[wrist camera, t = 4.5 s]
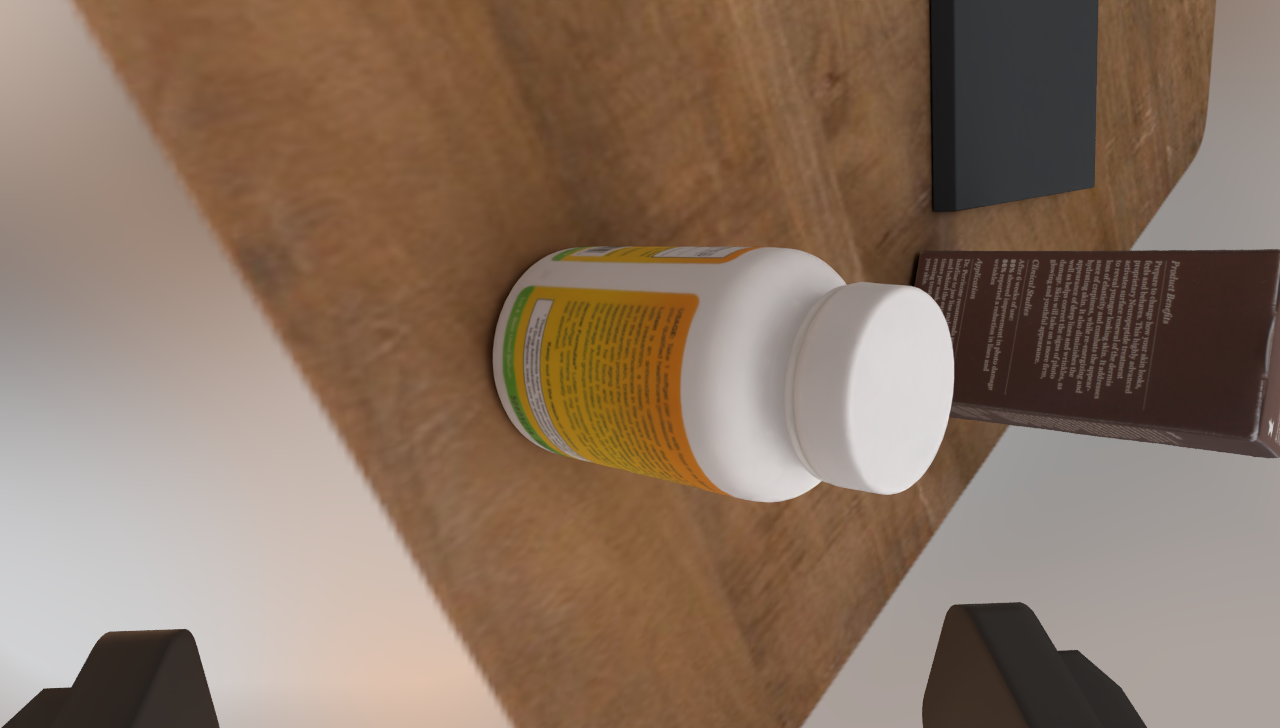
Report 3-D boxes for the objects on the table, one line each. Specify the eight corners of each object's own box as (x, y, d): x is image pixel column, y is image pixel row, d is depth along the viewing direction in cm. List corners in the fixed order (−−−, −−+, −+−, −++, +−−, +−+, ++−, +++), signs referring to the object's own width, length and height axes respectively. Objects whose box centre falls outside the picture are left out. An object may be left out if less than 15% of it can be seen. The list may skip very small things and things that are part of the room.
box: (940, 417, 39) (1284, 465, 31) (886, 395, 36) (1254, 442, 27) (967, 277, 40) (1313, 286, 31) (916, 243, 36) (1286, 243, 28)
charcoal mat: (927, -177, 34) (952, -186, 34) (1078, -118, 44) (1101, -124, 43) (932, 212, 37) (956, 211, 36) (1074, 188, 47) (1095, 187, 46)
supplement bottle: (558, 495, 25) (887, 592, 18) (445, 343, 22) (785, 389, 15) (670, 356, 27) (996, 394, 20) (583, 204, 24) (927, 188, 18)
